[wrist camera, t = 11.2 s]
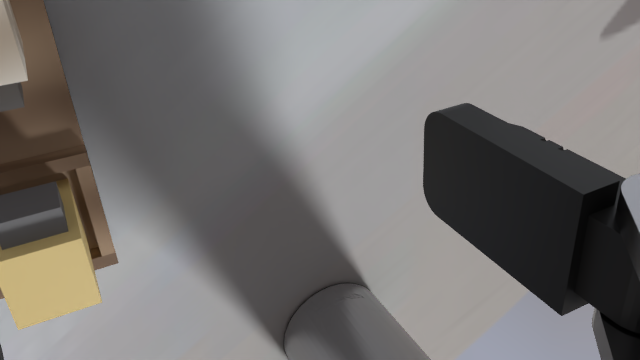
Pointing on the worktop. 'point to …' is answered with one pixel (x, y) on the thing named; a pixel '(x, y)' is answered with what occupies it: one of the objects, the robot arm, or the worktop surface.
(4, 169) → the rail
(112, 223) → the worktop surface
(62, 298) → the yellow and grey box
